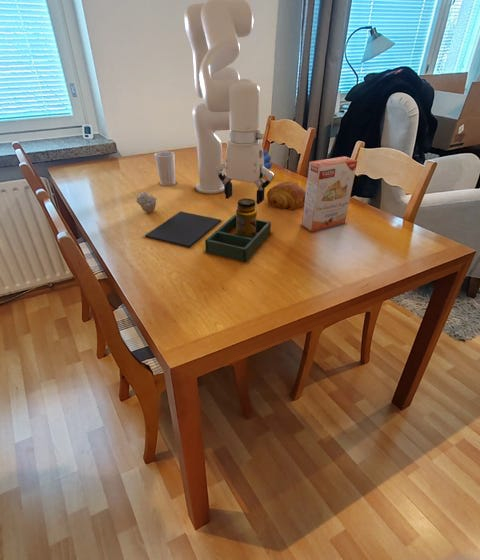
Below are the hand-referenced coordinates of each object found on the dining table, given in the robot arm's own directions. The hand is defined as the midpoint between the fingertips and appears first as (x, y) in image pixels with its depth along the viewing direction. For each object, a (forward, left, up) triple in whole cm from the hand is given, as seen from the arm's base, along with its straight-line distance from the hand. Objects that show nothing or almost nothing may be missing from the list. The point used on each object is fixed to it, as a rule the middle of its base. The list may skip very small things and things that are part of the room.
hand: (244, 199), depth 101 cm
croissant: (-33, +3, -13) cm, 36 cm away
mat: (+2, -20, -13) cm, 24 cm away
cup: (-32, -50, -13) cm, 61 cm away
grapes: (-56, -16, -13) cm, 60 cm away
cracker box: (-20, +20, -13) cm, 31 cm away
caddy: (+3, 0, -13) cm, 13 cm away
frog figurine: (-4, -39, -13) cm, 42 cm away
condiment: (0, 0, -13) cm, 13 cm away
